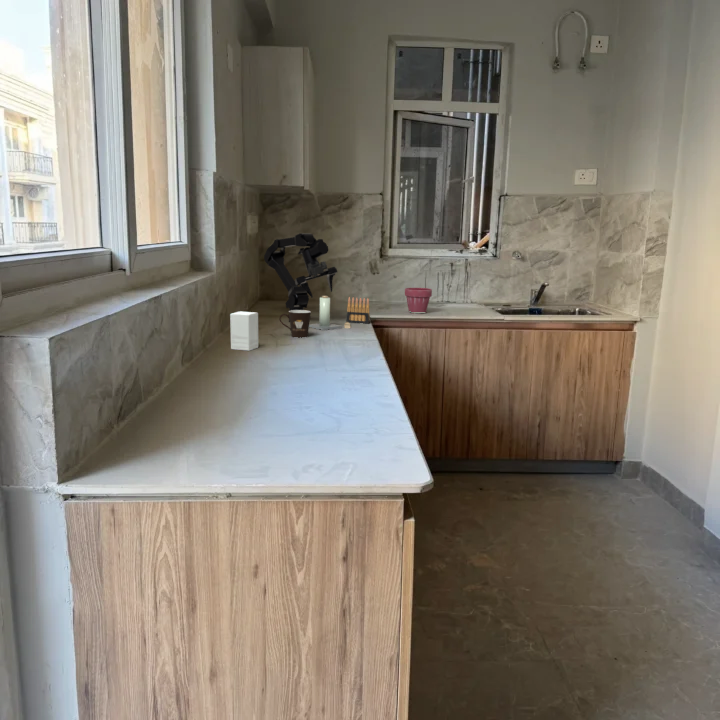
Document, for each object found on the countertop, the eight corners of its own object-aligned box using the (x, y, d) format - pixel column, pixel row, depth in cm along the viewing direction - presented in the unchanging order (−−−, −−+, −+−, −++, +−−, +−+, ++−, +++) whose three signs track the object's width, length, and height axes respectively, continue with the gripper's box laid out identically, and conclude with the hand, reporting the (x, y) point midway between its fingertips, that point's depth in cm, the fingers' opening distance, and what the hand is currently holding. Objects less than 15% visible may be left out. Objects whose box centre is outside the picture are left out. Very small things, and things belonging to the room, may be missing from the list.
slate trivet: (306, 326, 268) (306, 324, 267) (325, 324, 275) (325, 322, 275) (323, 330, 260) (323, 328, 260) (342, 328, 268) (342, 325, 267)
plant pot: (399, 312, 325) (400, 288, 322) (411, 310, 337) (412, 286, 334) (423, 315, 318) (424, 290, 315) (435, 312, 329) (436, 288, 327)
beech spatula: (350, 328, 268) (350, 326, 268) (344, 328, 268) (344, 326, 268) (350, 323, 281) (350, 322, 281) (344, 323, 281) (344, 321, 281)
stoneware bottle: (319, 325, 265) (319, 296, 262) (319, 324, 270) (320, 295, 267) (329, 326, 265) (330, 296, 263) (329, 324, 270) (330, 295, 267)
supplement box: (259, 347, 219) (259, 312, 216) (248, 351, 212) (248, 314, 209) (240, 345, 221) (240, 310, 218) (229, 349, 214) (229, 313, 211)
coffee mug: (314, 336, 246) (314, 311, 244) (303, 339, 238) (303, 313, 236) (289, 333, 250) (289, 308, 248) (277, 336, 243) (278, 311, 241)
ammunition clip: (369, 323, 284) (370, 297, 281) (368, 324, 282) (369, 298, 280) (347, 322, 286) (347, 296, 284) (346, 322, 284) (346, 296, 282)
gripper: (293, 263, 261) (305, 298, 262) (334, 251, 266) (345, 285, 267) (290, 268, 272) (301, 301, 273) (329, 256, 277) (339, 289, 277)
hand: (322, 294), depth 272 cm, fingers open, 9 cm apart
